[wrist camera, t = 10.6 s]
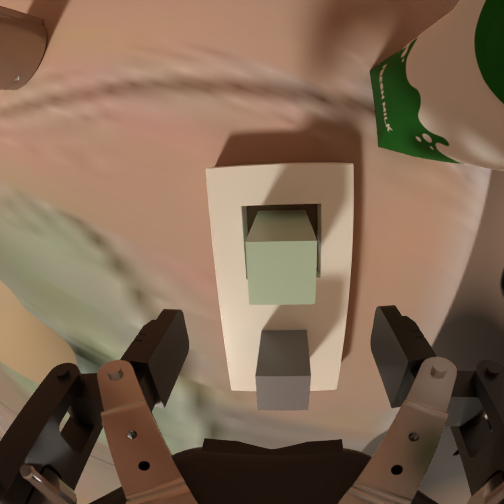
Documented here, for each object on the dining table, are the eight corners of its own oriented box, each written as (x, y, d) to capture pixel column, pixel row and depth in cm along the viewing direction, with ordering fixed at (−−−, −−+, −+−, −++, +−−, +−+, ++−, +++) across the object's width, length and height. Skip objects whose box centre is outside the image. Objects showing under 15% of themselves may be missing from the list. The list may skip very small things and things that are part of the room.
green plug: (258, 210, 25) (245, 241, 16) (305, 209, 24) (317, 240, 16) (260, 254, 26) (249, 304, 18) (305, 254, 26) (314, 304, 17)
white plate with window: (214, 166, 24) (178, 175, 15) (345, 162, 23) (378, 168, 14) (235, 371, 31) (221, 433, 23) (333, 371, 30) (343, 433, 21)
